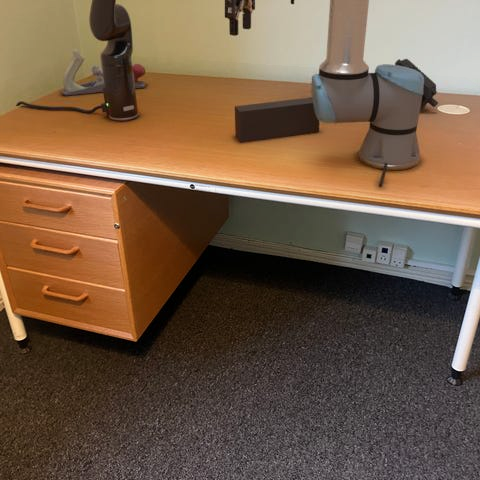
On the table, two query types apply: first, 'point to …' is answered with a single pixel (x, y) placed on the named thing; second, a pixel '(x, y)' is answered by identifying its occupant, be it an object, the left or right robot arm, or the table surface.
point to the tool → (428, 86)
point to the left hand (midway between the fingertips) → (240, 32)
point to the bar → (275, 119)
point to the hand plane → (95, 85)
